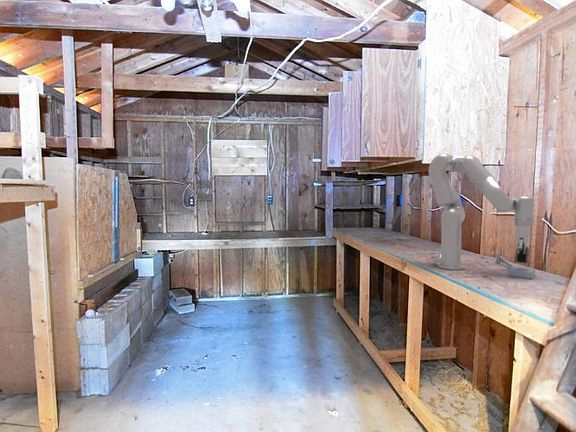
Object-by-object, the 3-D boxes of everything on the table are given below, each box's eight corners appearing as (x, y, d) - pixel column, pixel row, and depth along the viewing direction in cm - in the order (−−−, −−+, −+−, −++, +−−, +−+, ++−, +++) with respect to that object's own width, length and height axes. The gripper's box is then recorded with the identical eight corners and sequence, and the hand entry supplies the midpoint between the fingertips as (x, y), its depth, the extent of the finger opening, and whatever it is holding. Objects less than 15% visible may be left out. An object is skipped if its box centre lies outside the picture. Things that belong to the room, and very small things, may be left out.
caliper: (495, 263, 194) (496, 252, 194) (497, 263, 194) (498, 252, 194) (518, 272, 174) (519, 259, 173) (521, 272, 174) (521, 259, 173)
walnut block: (515, 262, 164) (515, 249, 164) (517, 260, 168) (517, 248, 167) (528, 263, 161) (528, 250, 160) (530, 261, 164) (530, 249, 164)
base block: (507, 276, 165) (507, 269, 164) (511, 272, 171) (511, 266, 171) (531, 279, 158) (532, 272, 158) (534, 275, 165) (535, 269, 165)
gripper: (517, 221, 172) (516, 257, 173) (510, 223, 159) (509, 262, 160) (536, 221, 167) (535, 259, 168) (530, 224, 154) (529, 264, 155)
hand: (522, 260), depth 164 cm, fingers closed on walnut block, 5 cm apart
